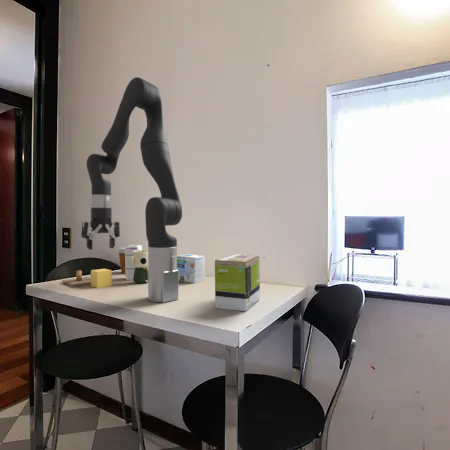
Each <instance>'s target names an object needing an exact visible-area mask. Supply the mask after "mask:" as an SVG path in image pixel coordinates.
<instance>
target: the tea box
mask: <svg viewBox="0 0 450 450" xmlns="http://www.w3.org/2000/svg"><path fill="white" fill-rule="evenodd" d="M260 263H261V262H260V255H255V254H236V253H235V254H230V255H226V256H223V257H220V258H217V259H214V305H215V308H216V309H221V310H222V309H223V310H230V311H232V310H233V311H237V312H239V311H240V312H247V310H248V309H250V308H251V307H252V306H254V305H255V303H257V302H258V301H259V300H260V299H261V289H260V288H261V287H260V286H261V282H260V281H261V279H260V278H261V277H260V276H261V275H260Z"/></svg>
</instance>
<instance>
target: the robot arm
mask: <svg viewBox="0 0 450 450" xmlns="http://www.w3.org/2000/svg"><path fill="white" fill-rule="evenodd" d="M135 108H138V109H141V110H142V111H144V113H145V117H146V128H145V131H144V132H143V134H142V137H141V139H140V145H139V146H140V152H141V153H140V154H141V157H142V158H141V159H142V162H143V165H144V167H145V169H146V170H147V172H148V173H149V175H150V176H151V177H152V178H153V181H154V182H155V184H156V185H157V187H158V189H159V193H160V196H155V197H150V198H149V199H148V200H147V203H146V205H145V213H144V215H145V236H146V240H147V246H148V247H147V249H148V267H147V269H148V282H147V294H148V295H147V299H148V301H150V302H155V303H167V302H171V301H175V300H179V281H178V273H179V272H178V270H177V256H178V252H177V251H178V239H177V238H176V237H175V236H173V235H170V234H169V233H168V232H167V229H166V226H170V227H171V226H177V225H178V224H179V223H181V220H182V218H183V208H182V202H181V199H180V195H179V192H178V189H177V185H176V181H175V178H174V172H173V167H172V163H171V155H170V150H169V149H170V148H169V145H168V140H167V135H166V134H167V133H166V127H165V121H164V109H163V98H162V93H161V90H160V89H159V87H157V86H156V85H155V84H153V83H151V82H149V81H147V80H146V79H143V78H141V77H134V78H132V79H131V80H130V81H129V82H128V84H127V86H126V87H125V90H124V93H123V95H122V98H121V100H120V103H119V106H118V109H117V112H116V114H115V118H114V119H113V123H112V125H111V127H110V129H109V130H108V132H107V134H106V136H105V137H104V139H103V141H102V143H101V147H100V148H101V150H102V151H103V152H104V153H105V154H106V155H103V154H98V153H91V154H90V155H89V156H88V158H87V159H86V169H87V172H88V173H87V174H88V176H89V180H90V184H91V197H90V222H87V221H83V222H81V223H82V224H81V238H83V239H85V240H86V248H88V249H87V250H93V238H95V236H96V235H97V234H106V235H108V237H109V238H108V239H109V241H108V242H109V244H108V245H109V249H114V247H116V238H118V237H120V236H121V235H120V234H121V231H120V222H118V221H114V222H112V215H113V213H112V210H113V209H112V208H113V206H112V205H113V203H112V202H113V201H112V184H111V181H110V180H109V179H108V180H107V179H105V178H104V176H103V175H111V174H112V173H114V172H115V170H116V169H117V166H118V161H119V157H120V153H121V152H122V150H123V149H124V147H125V145H126V144H127V142H128V140H129V136H130V117H131V115H132V112H134V110H135ZM90 227H91V228H90ZM89 228H90V231H89ZM112 228H113V230H112ZM88 231H89V232H88Z"/></svg>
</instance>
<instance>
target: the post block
mask: <svg viewBox="0 0 450 450" xmlns="http://www.w3.org/2000/svg"><path fill="white" fill-rule="evenodd" d="M82 273H83V272H82V270H80V269H79V270H76V271H75V275H76V276H75V278H71V279H63V280H62V282H63V283H62V284H64V283H66V284H65V285H67V284H68V285H67V286H69V285H70V287H72V286H73V287H72V288H74V287H75V288H80V286H81V287H86V286H91V277H89V276H87V277H86V276H85V277H82V276H83V274H82Z"/></svg>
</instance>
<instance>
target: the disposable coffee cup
mask: <svg viewBox="0 0 450 450" xmlns="http://www.w3.org/2000/svg"><path fill="white" fill-rule="evenodd" d="M125 247H126V246H124V247H123V246H122V247H119V248H118V250H117V252H118V257H119V264H120V271H121V274H122V275H125Z"/></svg>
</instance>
